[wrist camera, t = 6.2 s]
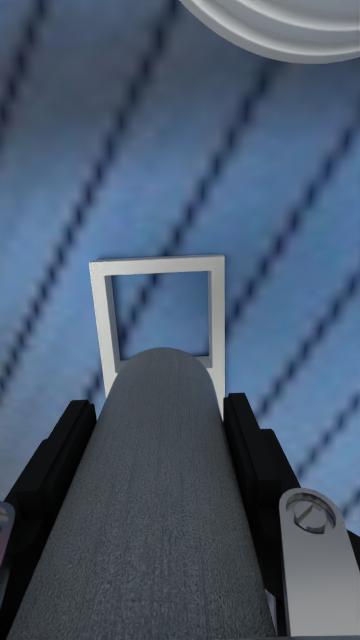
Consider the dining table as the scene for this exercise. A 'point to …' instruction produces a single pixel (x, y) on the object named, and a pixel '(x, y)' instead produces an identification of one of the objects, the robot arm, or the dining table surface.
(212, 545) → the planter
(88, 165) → the dining table surface
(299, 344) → the dining table surface
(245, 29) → the plate stack
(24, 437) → the dining table surface
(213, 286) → the white ladder frame
